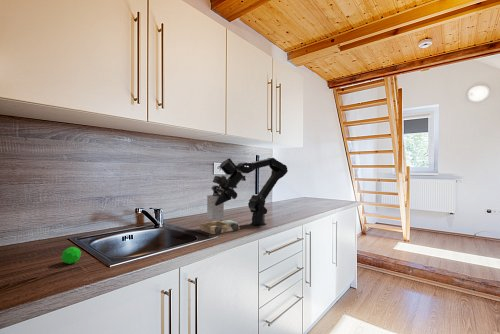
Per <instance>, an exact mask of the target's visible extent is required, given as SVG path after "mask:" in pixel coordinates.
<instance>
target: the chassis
mask: <svg viewBox="0 0 500 334" xmlns="http://www.w3.org/2000/svg"><path fill="white" fill-rule="evenodd" d="M199 229H200V231H202V232H205V233H208V234H210V235H218V234H223V233H228V232H233V231H238V230H240V229H241V228H240V226H239V222H237V221H234V220H231V219H227V220H224V219H220V220H215V221H207V222H206V221H205V222H202V223H199Z"/></svg>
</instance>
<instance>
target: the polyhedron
mask: <svg viewBox="0 0 500 334" xmlns="http://www.w3.org/2000/svg"><path fill="white" fill-rule="evenodd" d="M81 254H82V251H81V250H80V249H79V248H78V247H75V246H70V247H68V248H66V249H64V251H63V252H62V255H61V261H62V262H63V263H65V264H68V265H69V264H70V265H72V264H75V263H77V262H78V261H79V260H80V258H81V256H82V255H81Z"/></svg>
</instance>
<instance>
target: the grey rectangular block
mask: <svg viewBox="0 0 500 334" xmlns="http://www.w3.org/2000/svg"><path fill="white" fill-rule="evenodd" d="M220 196H221V195H218V193H213V192H212V194H208V195H207V196H206V206H207V207H206V208H207V209H206V210H207V211H206V213H207V214H206V215H207V216H206V217H207V218H208V219H210V220H219V219H220V220H222V219H224V218H225V217H224V215H225V214H224V213H225V212H224V210H225V208H224V205H225V202H224V203H222V204H220V205H218V206H216V205H215V204H216V202H217V200H218V199H219V197H220Z"/></svg>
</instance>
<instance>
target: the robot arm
mask: <svg viewBox="0 0 500 334" xmlns="http://www.w3.org/2000/svg"><path fill="white" fill-rule="evenodd" d="M268 166H269V169H270V170H271V174H270V176H269V178H268V180H267V181H266V182H265V183H264V185H263V187H262V188H261V189H260V190H259V192H258V194H252V195H251V197H250V199H249V200H248V203H247V205H248V209H249V211H250V213H251V214H252V216H251V222H250V225H253V226H256V227H259V226H260V227H261V226H265V225H267V223H266V222H265V221H266V220H265V217H266V216H265V215H266V214H267V213H268V209H267V208H266V206H265V205H266V199H267V198H268V196H269V195H270V193H271V191H272V190H273V188H275V185H276V184H277V183H278V181H279V180H281V178H283V177H284V176H285V175H287V173H288V166H287V165H286V164H284V163H283V162H280V161H279V160H277V159H276V158H275V157H267V158H264V159H260V160H256V161H251V162H249V161H248V162H239V163H238V164H235V163H234V161H233V160H232V159H231V158H227V159H226V160H224V161H222V162H221V163H220V164H219V168H220V170H221V171H223V172H224V174H225V175H226V176H225V175H221V176H219V175H214V177H213V180H212V183H214V184H217V185H212V186H211V187H210V189H211V190H212V194H213V193H218V195H221V196H220V197H219V199H218V200H217V202H216V204H215V205H216V206H218V205H220V204H222V203H224V204H225V202H226V203H227V202H229V201H230V200H236V198H237V197H238V193H237V191H235V190H234V189H237V188H238V186H237V185H238V184H239V183H240V182H241V181H242V182H246V181H247V179H246V175H244V174H249V173H251V172H254V171H255V170H257V169H260V168H264V167H265V168H266V167H268ZM227 176H228V178H227Z"/></svg>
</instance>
